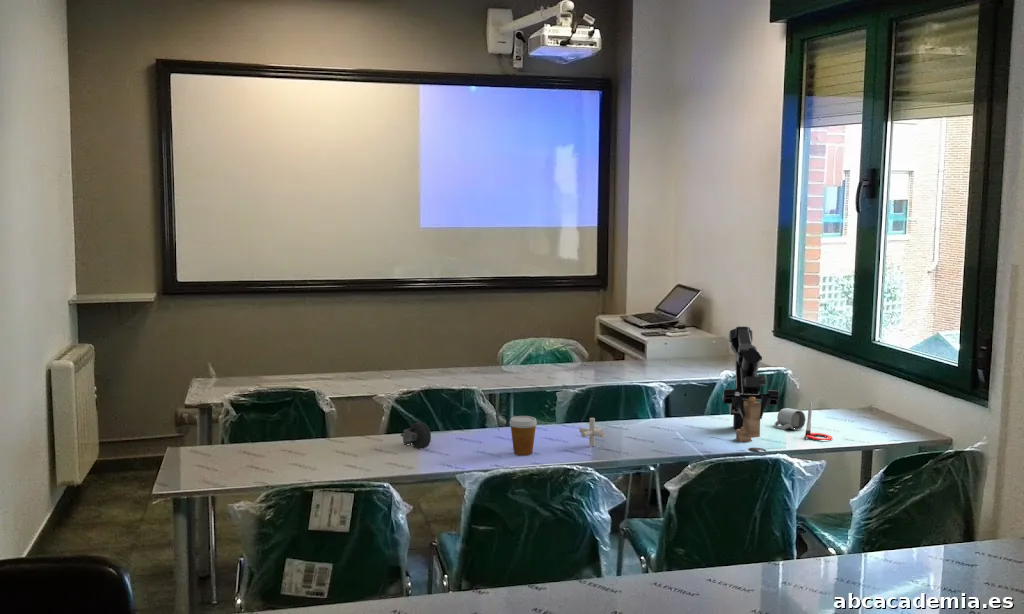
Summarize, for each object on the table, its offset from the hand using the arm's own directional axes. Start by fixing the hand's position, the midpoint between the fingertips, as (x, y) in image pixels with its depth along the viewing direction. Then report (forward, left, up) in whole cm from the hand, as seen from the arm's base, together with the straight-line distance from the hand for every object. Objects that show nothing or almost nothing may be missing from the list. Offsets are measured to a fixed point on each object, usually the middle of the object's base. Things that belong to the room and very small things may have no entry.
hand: (752, 418), depth 300 cm
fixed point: (-15, +3, -12) cm, 19 cm away
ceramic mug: (-31, +26, -13) cm, 43 cm away
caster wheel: (-22, -114, -13) cm, 117 cm away
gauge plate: (-8, +3, -12) cm, 15 cm away
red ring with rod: (-17, +32, -13) cm, 38 cm away
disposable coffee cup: (-9, -77, -12) cm, 79 cm away
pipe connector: (-15, -52, -12) cm, 56 cm away
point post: (-1, 0, -7) cm, 7 cm away
